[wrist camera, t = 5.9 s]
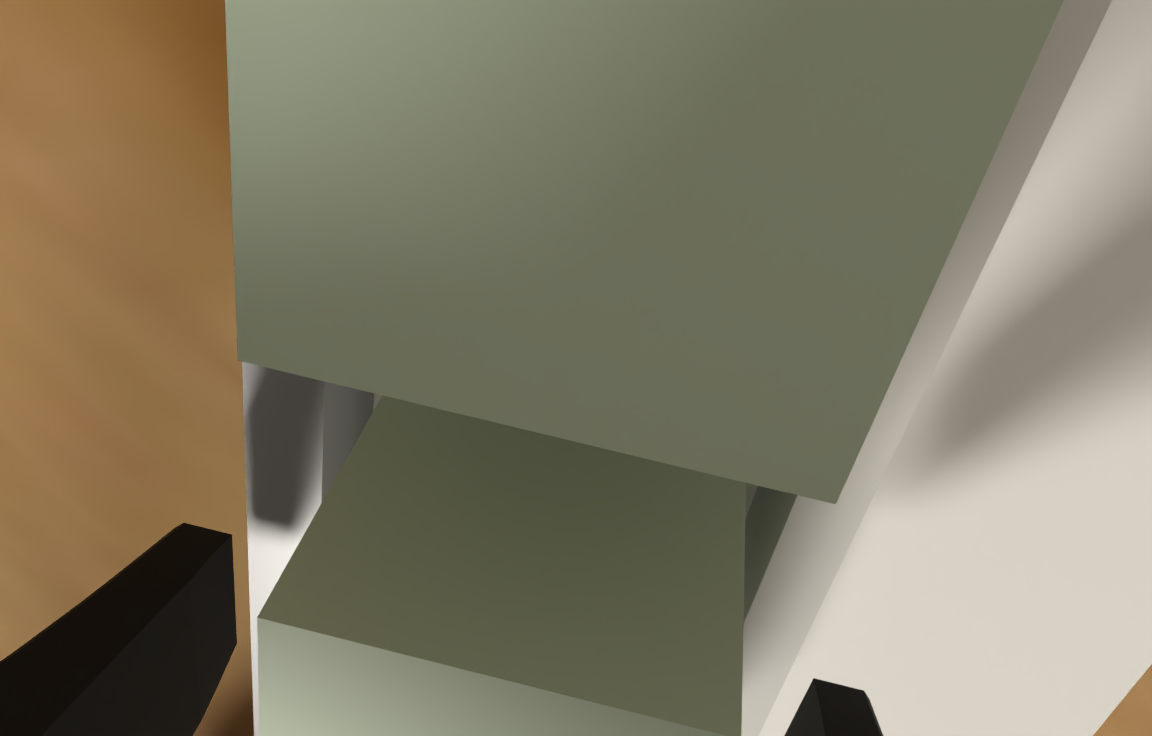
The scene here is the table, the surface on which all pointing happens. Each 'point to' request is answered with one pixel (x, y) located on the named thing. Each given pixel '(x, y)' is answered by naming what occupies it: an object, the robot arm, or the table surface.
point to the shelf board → (996, 446)
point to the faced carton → (615, 208)
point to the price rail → (290, 469)
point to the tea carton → (507, 591)
